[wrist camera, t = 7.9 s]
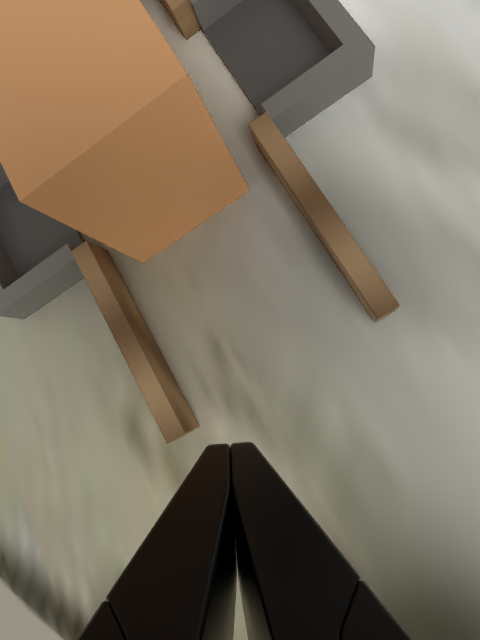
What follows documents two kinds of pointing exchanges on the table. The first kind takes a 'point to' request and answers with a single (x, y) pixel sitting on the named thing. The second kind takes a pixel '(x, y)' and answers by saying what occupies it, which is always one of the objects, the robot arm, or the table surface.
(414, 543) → the table surface
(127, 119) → the orange tan rectangular block
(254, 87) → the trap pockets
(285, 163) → the small wooden bench
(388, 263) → the table surface
